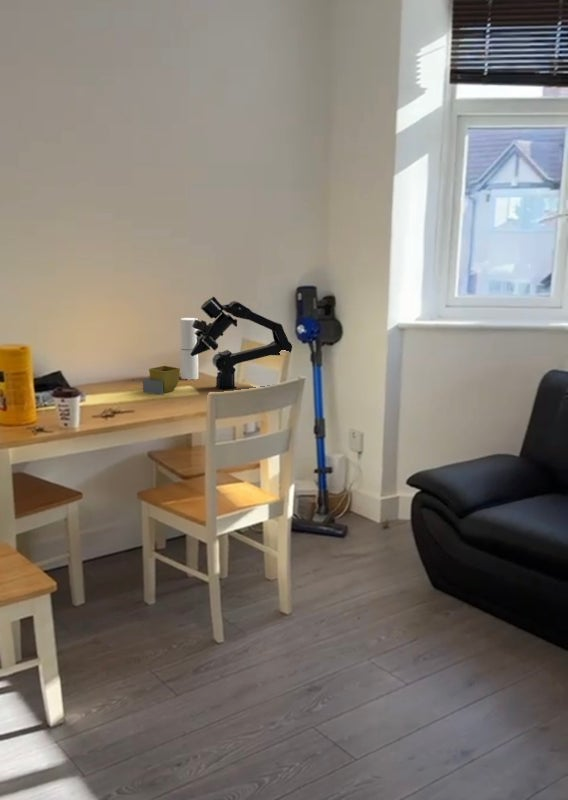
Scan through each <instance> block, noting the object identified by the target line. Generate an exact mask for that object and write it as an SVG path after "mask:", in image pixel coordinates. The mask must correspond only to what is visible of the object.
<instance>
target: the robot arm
mask: <svg viewBox="0 0 568 800" xmlns="http://www.w3.org/2000/svg"><path fill="white" fill-rule="evenodd" d="M200 309H201V310H202V311H203V313H205V314H206V315H207V316H208V318H209V319H214V321H213V322H209V323H208V324H207V321H205V320H203V319H202V320H199V319H198V320H196V319H195V321H194V323H193V325H192V327H193V328H195V329H198V330H197V331H196V332H195V334H196V335H197V336H198V337H196V338H197V343H196V345H195V347H194V348H193V350H192V352H191V354H190V355H191V356H195V355H197V354H198V355H199V354H201V353H204V352H207V351H209V350H213V351H214V352H215V351H216V350H217V349H218V348H219V343H218V342H217V340H218V339H219V338H220V337H223V336H224V333H225V332H226V330H228V329H229V327H231V325H233V326H234V327H235V328H236V327H238V319H243V320H247V321H251V322H252V323H256V324H257V325H259V326H262V327H264V328H266V329H269V330H270V331H271V333H272V338H273V341H271V342H270V343H269V344H267V345H263V346H258V347H255V348H251V349H246V350H243V351H238V352H233V353H232V351H230V350H228V349H226V350H223V351H218V352H217V353H216V354H214V355H213V357H212V361H211V362H212V365H213V366H214V367H215V368H216V369H217V374H216V384H215V386H216V387H215V388H217V387H219V388H218V389H220V388H222V389H221V390H223V389H225V390H230V389H237V388H238V387H237V386H236V385H235V383H236V382H235V379H236V378H235V377H236V375H235V373H236V368H235V367H234V366H236V365H237V364H241V363H244V362H245V363H246V362H249V361H252V360H256V359H260V358H264V357H268V356H269V357H270V356H281V355H280V353H279V352H280V351H281V350H286V351H289V352H290V353H291V352H292V351H293V345H292V343H291V342H290V341H289V339H288V338H289V337H287V334H286V332H285V329H284V327H283V325H282V324H281V323H280V322H277V321H274V320H272V319H270V318H267V317H265V316H263V315H261V314H259V313H257V312H254V311H253V310H252V309H250V308H249V307H247V306H246V305H244V303H241V302H239V301H237V300H232V301H231V302H229V303H228V304H221V303H220V302H219V301H218V300H217V298H216V297H215V296H212V297H210V298H208V299H207V300H205V302H204V303H203V304H202V305H201V306H200ZM226 313H228V314H226ZM233 317H235V318H233ZM237 318H238V319H237Z"/></svg>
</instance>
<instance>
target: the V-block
mask: <svg viewBox="0 0 568 800" xmlns="http://www.w3.org/2000/svg"><path fill="white" fill-rule="evenodd" d="M142 391H143V393H148V394H153V393H154V395H155V394H156V395H164V392H163V381H158V380H151V379H150V376H149V377H147V378H143V379H142Z"/></svg>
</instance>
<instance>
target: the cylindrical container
mask: <svg viewBox="0 0 568 800" xmlns="http://www.w3.org/2000/svg"><path fill="white" fill-rule="evenodd" d="M195 319H196V320H198V321H199V319H198V318H195V317H181V318H180V374H181V375H180V378H181V379H182V380H185V379H187V381H192V380H191V379H194V380H198V379H199V354H197V355H195V356H191V355H190V354H191V352H192V350H193V348H194V347H195V345H196V343H197V338H196V337H198V336H197V335H196V334H195V332H196V331H197V330H199V329H195V328H193V327H192V325H193V323H194V321H195Z"/></svg>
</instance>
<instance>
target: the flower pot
mask: <svg viewBox="0 0 568 800" xmlns="http://www.w3.org/2000/svg"><path fill="white" fill-rule="evenodd" d="M148 371H149V377H150V379H151V380H158V381H163V393H164V392H165V393H169V392H174V391H175V389H176V388H177V386H178V383H179V380H180V374H181V368H179V367H174V366H170V365H169V366H168V365H159V366H156V367H150V368H148Z"/></svg>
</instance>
